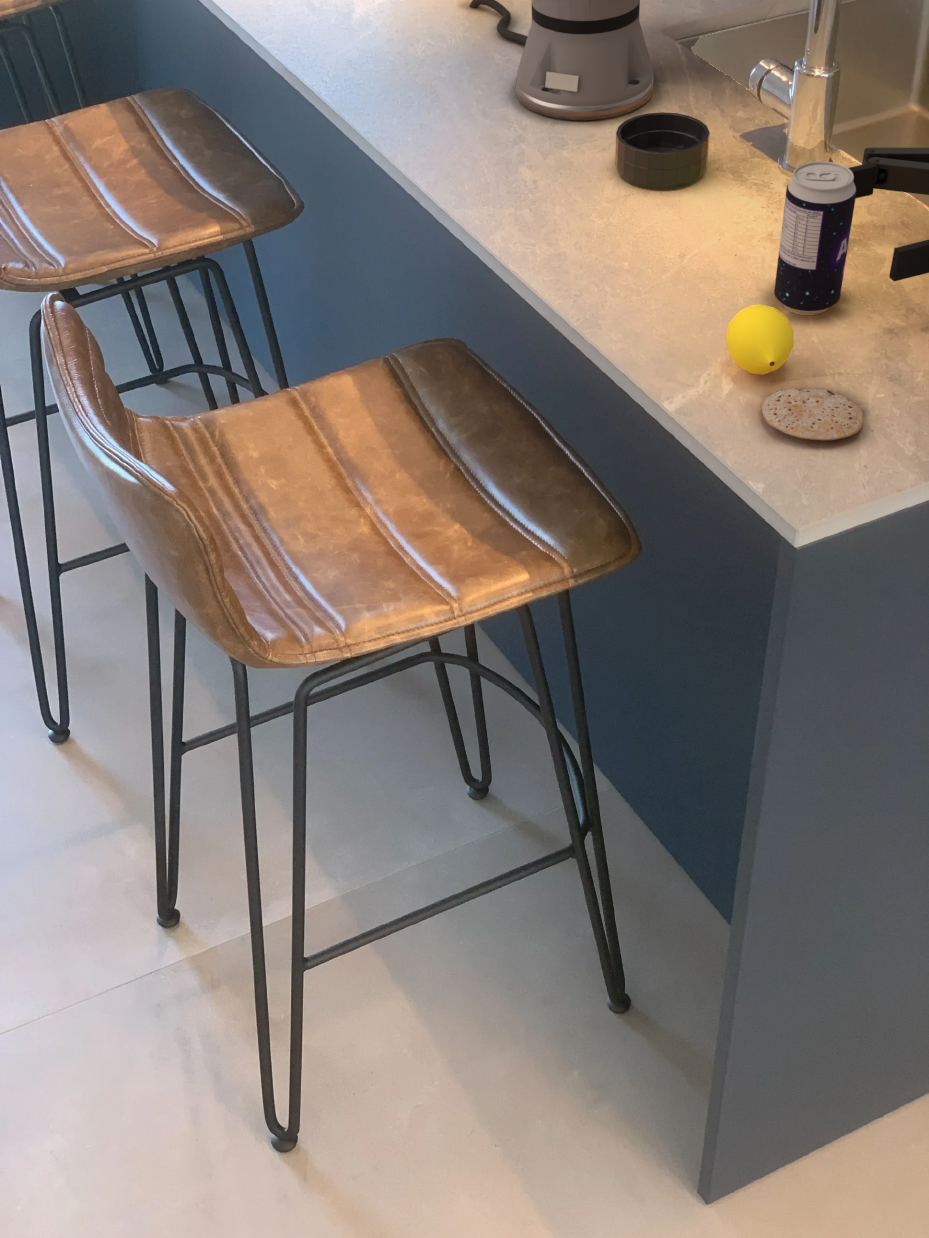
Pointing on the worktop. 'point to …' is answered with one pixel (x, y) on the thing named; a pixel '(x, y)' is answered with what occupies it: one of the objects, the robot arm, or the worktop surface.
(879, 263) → the worktop surface
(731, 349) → the lemon
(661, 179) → the bowl
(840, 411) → the flatbread
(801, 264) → the beverage can
